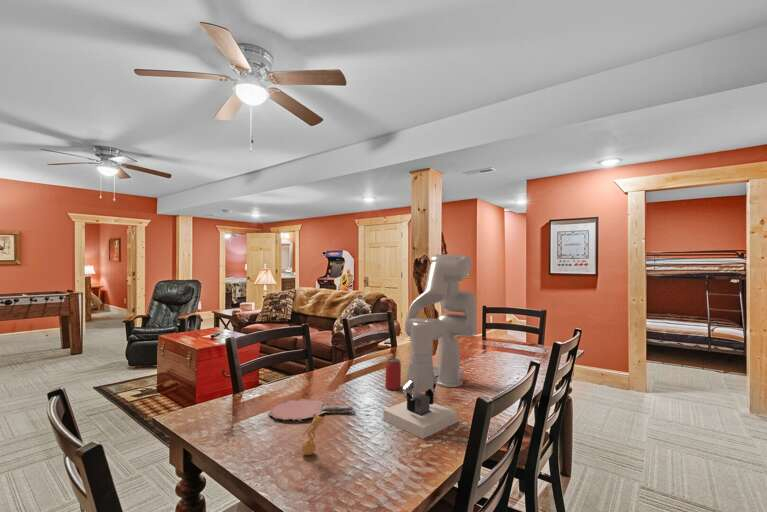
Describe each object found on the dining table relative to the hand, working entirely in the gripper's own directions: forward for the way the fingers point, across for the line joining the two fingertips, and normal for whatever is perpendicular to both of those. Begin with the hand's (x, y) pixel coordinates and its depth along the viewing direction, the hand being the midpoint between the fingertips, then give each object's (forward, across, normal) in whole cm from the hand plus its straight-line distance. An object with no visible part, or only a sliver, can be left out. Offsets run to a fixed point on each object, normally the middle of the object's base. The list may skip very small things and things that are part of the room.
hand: (420, 407), depth 126 cm
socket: (+5, 0, 0) cm, 5 cm away
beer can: (+5, -16, -29) cm, 33 cm away
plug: (+4, 0, 0) cm, 4 cm away
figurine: (+5, +40, -6) cm, 41 cm away
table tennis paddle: (+6, +25, -31) cm, 40 cm away
